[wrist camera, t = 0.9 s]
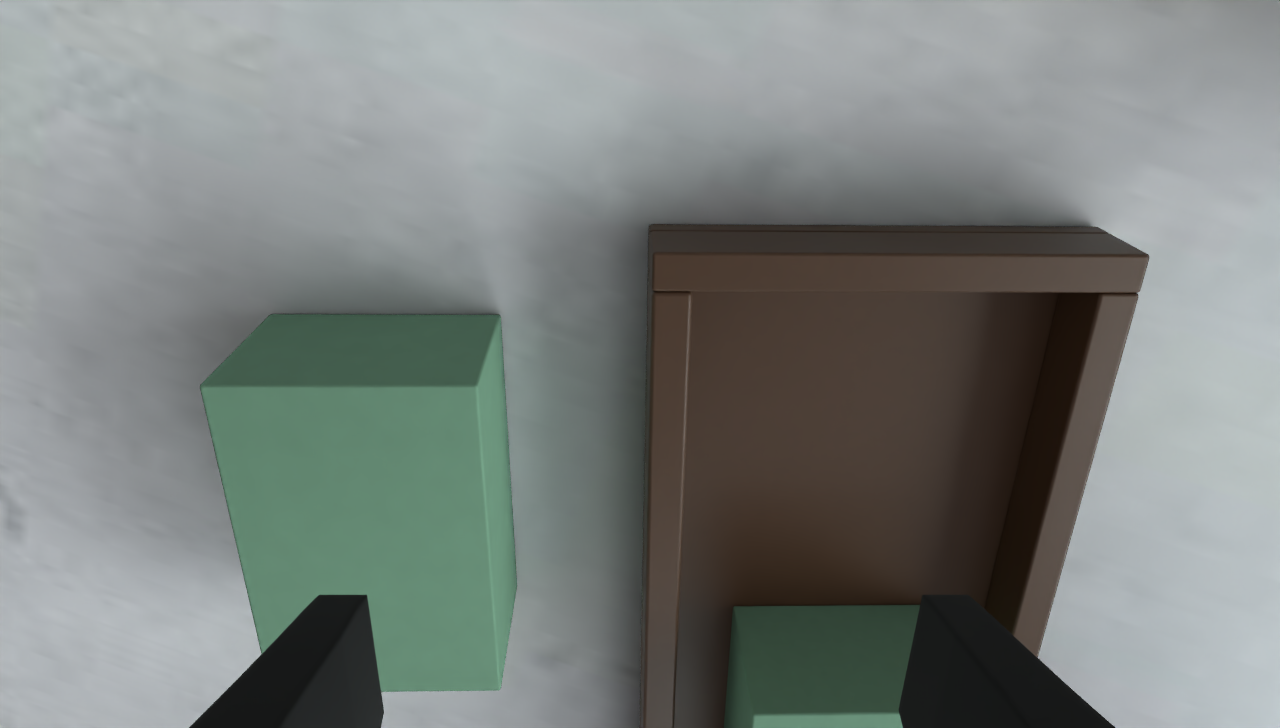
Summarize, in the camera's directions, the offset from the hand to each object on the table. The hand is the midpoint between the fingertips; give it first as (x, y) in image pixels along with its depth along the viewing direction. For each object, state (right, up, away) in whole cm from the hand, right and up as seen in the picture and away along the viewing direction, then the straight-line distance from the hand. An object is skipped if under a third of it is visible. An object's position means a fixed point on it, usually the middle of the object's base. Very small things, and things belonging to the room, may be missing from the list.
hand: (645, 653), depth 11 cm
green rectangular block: (-6, +2, +9) cm, 11 cm away
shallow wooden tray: (+5, -2, +11) cm, 12 cm away
